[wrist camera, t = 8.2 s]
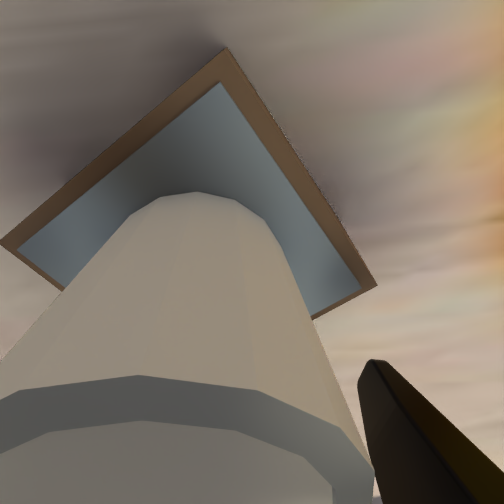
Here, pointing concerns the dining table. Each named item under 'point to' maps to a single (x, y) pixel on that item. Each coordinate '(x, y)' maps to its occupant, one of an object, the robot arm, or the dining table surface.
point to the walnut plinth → (199, 188)
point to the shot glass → (179, 376)
